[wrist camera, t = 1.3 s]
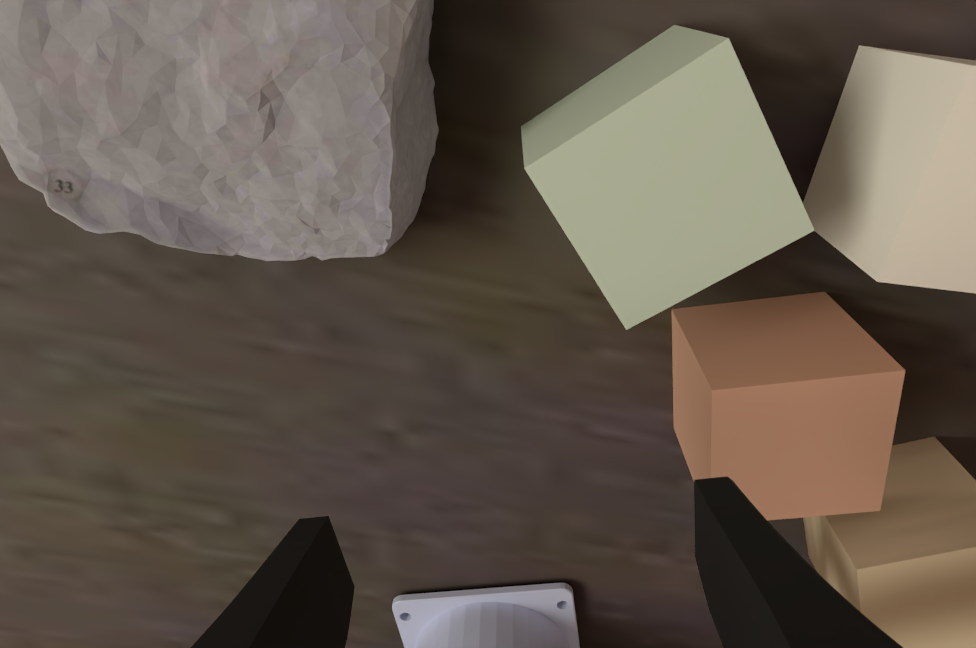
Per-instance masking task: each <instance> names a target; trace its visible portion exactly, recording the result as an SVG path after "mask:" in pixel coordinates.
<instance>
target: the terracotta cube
mask: <svg viewBox="0 0 976 648" xmlns="http://www.w3.org/2000/svg"><path fill="white" fill-rule="evenodd" d="M672 356H673V414H674V430H675V432H676V435H677V438H678V440H679V443H680V446H681V449H682V451H683V454H684V457H685V459H686V462H687V465H688V468H689V470H690V473H691V476H692V478H693V481H694V480H696V479H706V478H716V477H726V476H727V477H729V478H730V479H731V480H733V481H734V482H735V484H736V485H737V486H738V487H739V489H740V490H741V491H742V492H743V493H744V495H745V496H746V497H747V498H748V499H749V500H750V502H751V503H752V504H753V505H754V506H755V507H756V509H757V510H758V511H759V512H760V513H761V514H762V515H763V516H764V518H765V519H766V520H778V519H790V518H802V517H814V516H826V515H838V514H849V513H861V512H873V511H880V509H881V504H882V498H883V493H884V487H885V481H886V476H887V470H888V465H889V459H890V454H891V448H892V442H893V437H894V431H895V426H896V420H897V415H898V409H899V404H900V398H901V392H902V387H903V381H904V376H905V369H904V368H903V367H902V366H901V365H900V364H899V363H897V362H896V361H895V360H894V359H893V358H892V357H891V356H890V355H889V354H888V353H887V352H886V351H885V350H884V349H883V348H882V347H881V346H880V345H879V344H878V343H877V342H876V341H875V340H874V339H873V338H872V337H871V336H870V335H869V334H868V333H867V332H866V331H865V330H864V329H863V328H862V327H861V326H860V325H859V324H857V323H856V322H855V321H854V320H853V319H852V318H851V317H850V316H849V315H848V314H847V313H846V312H845V311H844V310H843V309H842V308H841V307H840V306H839V305H838V304H837V303H836V302H835V301H834V300H833V299H832V298H831V297H830V296H829V295H828V294H827V293H826V292H817V293H809V294H800V295H791V296H783V297H774V298H765V299H757V300H748V301H740V302H731V303H722V304H714V305H705V306H696V307H688V308H679V309H672Z"/></svg>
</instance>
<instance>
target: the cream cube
mask: <svg viewBox="0 0 976 648" xmlns="http://www.w3.org/2000/svg"><path fill="white" fill-rule="evenodd" d="M803 205H804V208H805V210H806V212H807V214H808V216H809V219H810V221H811V223H812V225H813V228H814V230H815V232H816V233H818V234H819V235H820V236H821V237H823V238H824V239H825V240H826V241H827V242H829V243H830V244H831V245H832V246H834V247H835V248H836V249H837V250H839V251H840V252H841V253H842V254H843V255H845V256H846V257H847V258H848V259H850V260H851V261H852V262H853V263H855V264H856V265H857V266H858V267H859V268H861V269H862V270H863V271H864V272H866V273H867V274H868V275H869V276H871V277H872V278H873V279H874V280H875V281H877V282H884V283H892V284H900V285H909V286H917V287H926V288H934V289H942V290H951V291H959V292H967V293H976V60H968V59H960V58H953V57H945V56H937V55H929V54H922V53H914V52H906V51H898V50H891V49H883V48H875V47H868V46H860V45H859V47H858V50H857V53H856V56H855V58H854V61H853V64H852V67H851V70H850V72H849V75H848V78H847V81H846V84H845V86H844V89H843V92H842V95H841V98H840V101H839V103H838V106H837V109H836V112H835V115H834V117H833V120H832V123H831V126H830V129H829V131H828V134H827V137H826V140H825V143H824V145H823V148H822V151H821V154H820V157H819V159H818V162H817V165H816V168H815V171H814V173H813V176H812V179H811V182H810V185H809V187H808V190H807V193H806V196H805V199H804V201H803Z"/></svg>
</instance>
